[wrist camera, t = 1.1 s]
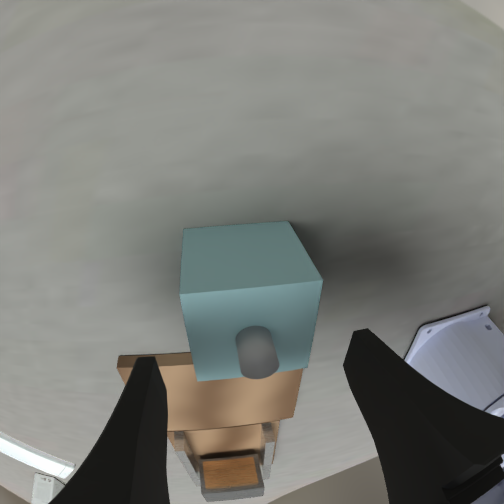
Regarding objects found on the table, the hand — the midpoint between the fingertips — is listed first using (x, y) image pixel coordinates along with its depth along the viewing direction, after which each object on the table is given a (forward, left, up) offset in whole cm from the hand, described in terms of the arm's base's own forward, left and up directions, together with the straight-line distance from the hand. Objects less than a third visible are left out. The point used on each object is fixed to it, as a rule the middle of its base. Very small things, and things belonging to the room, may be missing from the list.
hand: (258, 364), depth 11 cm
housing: (0, 0, -6) cm, 6 cm away
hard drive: (+30, +28, -7) cm, 42 cm away
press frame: (+2, +17, -6) cm, 18 cm away
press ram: (+2, +24, -5) cm, 25 cm away
